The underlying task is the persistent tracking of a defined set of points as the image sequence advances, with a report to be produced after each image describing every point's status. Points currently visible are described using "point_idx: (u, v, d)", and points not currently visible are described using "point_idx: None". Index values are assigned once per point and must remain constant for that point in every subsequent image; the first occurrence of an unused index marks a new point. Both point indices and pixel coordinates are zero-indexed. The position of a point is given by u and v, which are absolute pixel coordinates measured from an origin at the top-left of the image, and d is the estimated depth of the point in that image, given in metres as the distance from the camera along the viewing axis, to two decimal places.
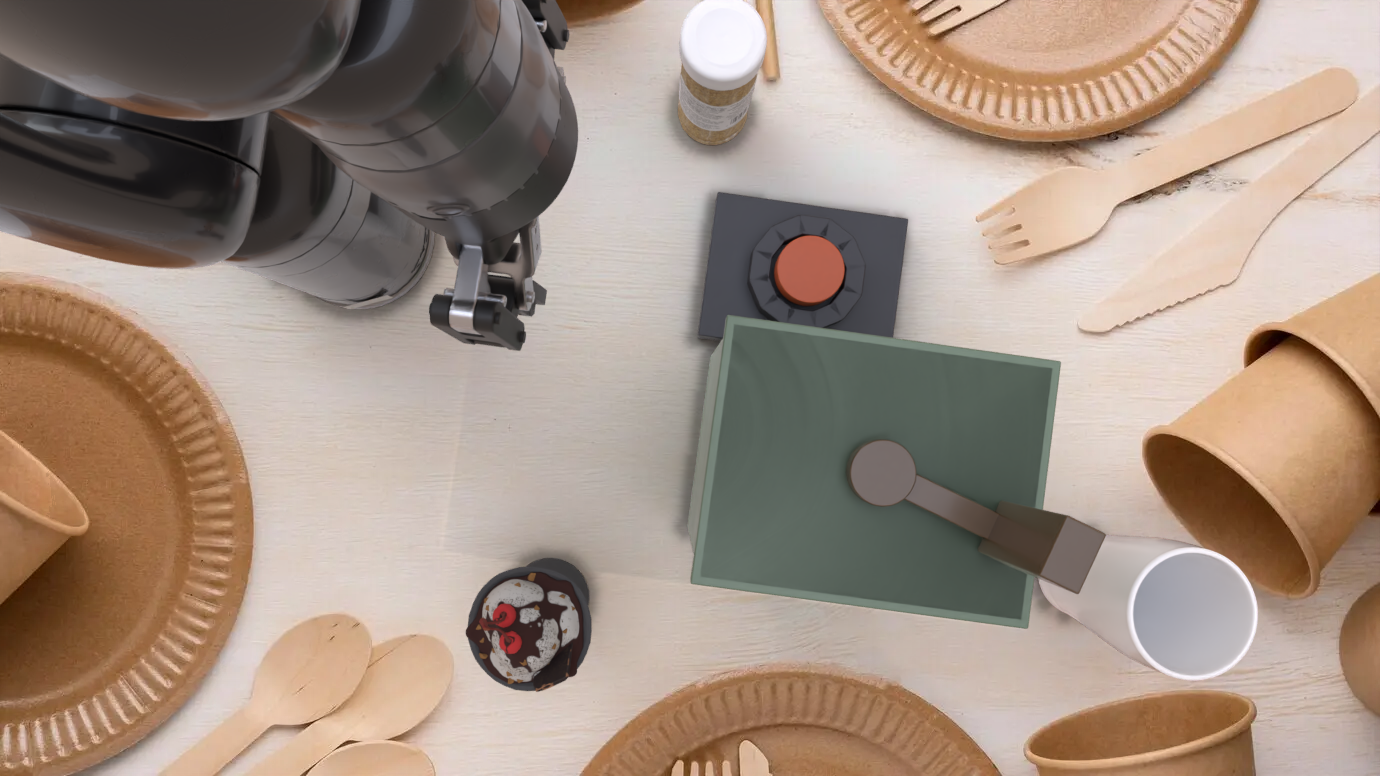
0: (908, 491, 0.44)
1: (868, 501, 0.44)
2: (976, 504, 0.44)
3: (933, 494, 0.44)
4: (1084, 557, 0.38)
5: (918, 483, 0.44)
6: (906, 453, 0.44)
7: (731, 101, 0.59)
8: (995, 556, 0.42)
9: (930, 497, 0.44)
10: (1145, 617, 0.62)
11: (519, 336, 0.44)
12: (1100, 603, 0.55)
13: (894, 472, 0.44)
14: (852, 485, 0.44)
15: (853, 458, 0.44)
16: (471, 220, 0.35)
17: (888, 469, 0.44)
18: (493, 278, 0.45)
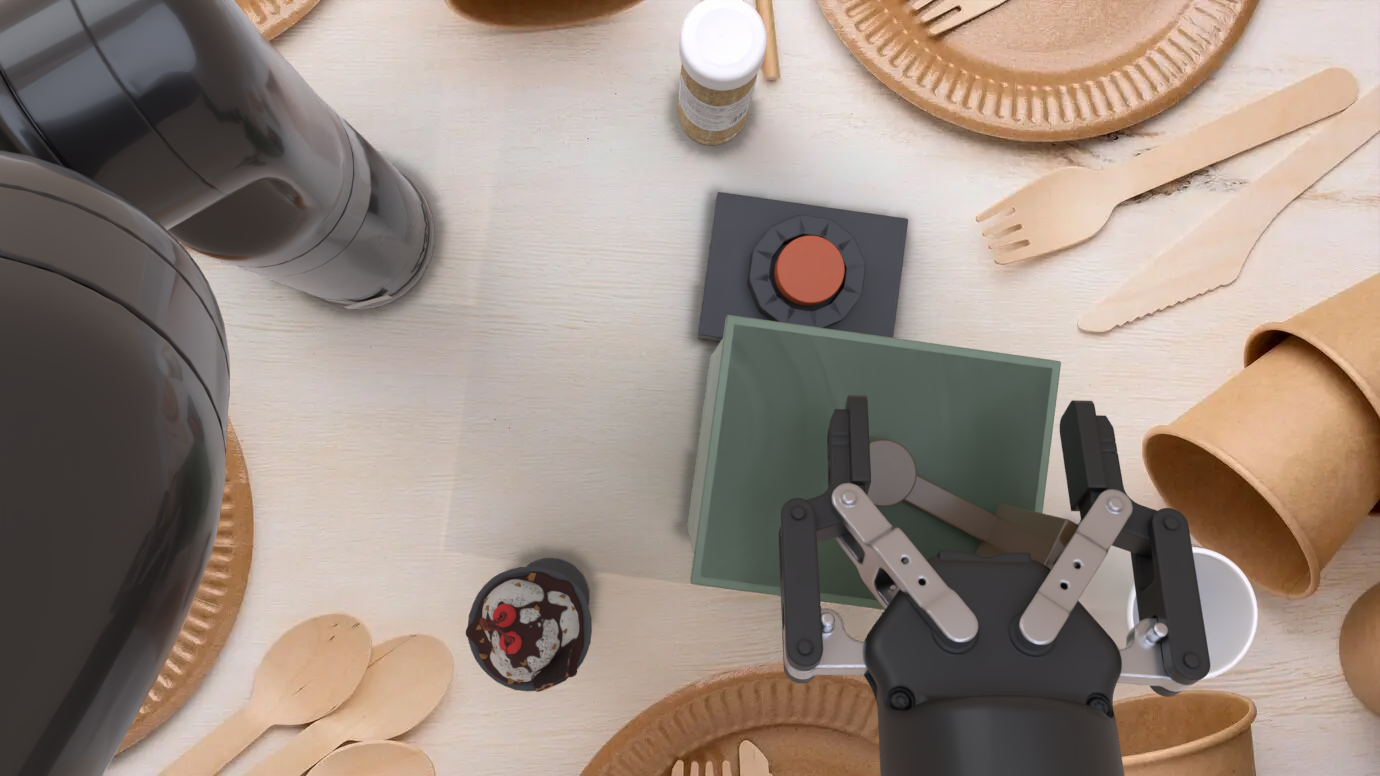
0: (908, 492, 0.44)
1: None
2: (975, 506, 0.44)
3: (932, 495, 0.44)
4: None
5: (918, 484, 0.44)
6: (906, 454, 0.44)
7: (731, 101, 0.59)
8: None
9: (929, 498, 0.44)
10: None
11: None
12: (1100, 603, 0.55)
13: (894, 472, 0.44)
14: None
15: None
16: None
17: (888, 469, 0.44)
18: None
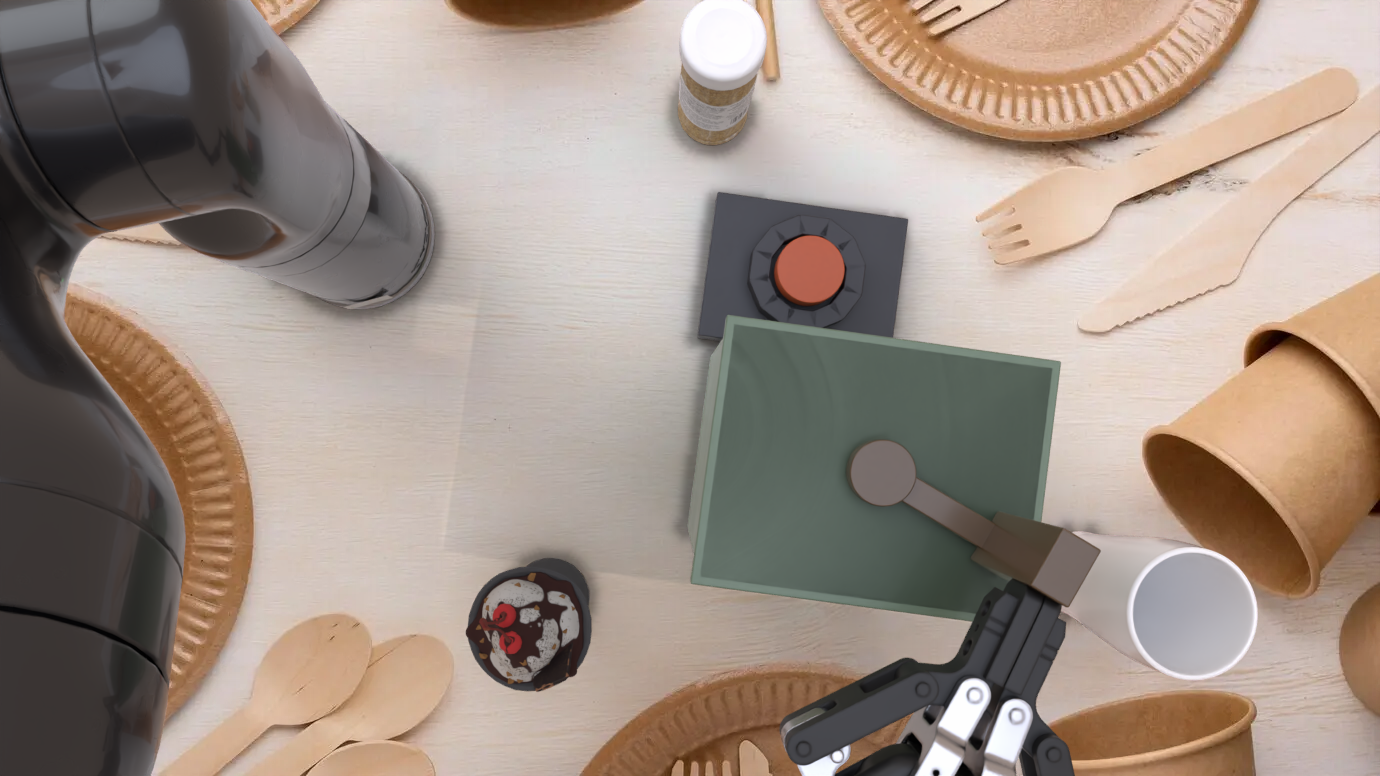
0: (906, 493, 0.44)
1: (866, 500, 0.44)
2: (973, 512, 0.44)
3: (931, 498, 0.44)
4: (1077, 571, 0.37)
5: (917, 486, 0.44)
6: (908, 455, 0.44)
7: (731, 101, 0.59)
8: (988, 565, 0.42)
9: (927, 501, 0.44)
10: (1145, 617, 0.62)
11: None
12: (1100, 603, 0.55)
13: (894, 473, 0.44)
14: (851, 482, 0.44)
15: (854, 455, 0.44)
16: None
17: (888, 469, 0.44)
18: None
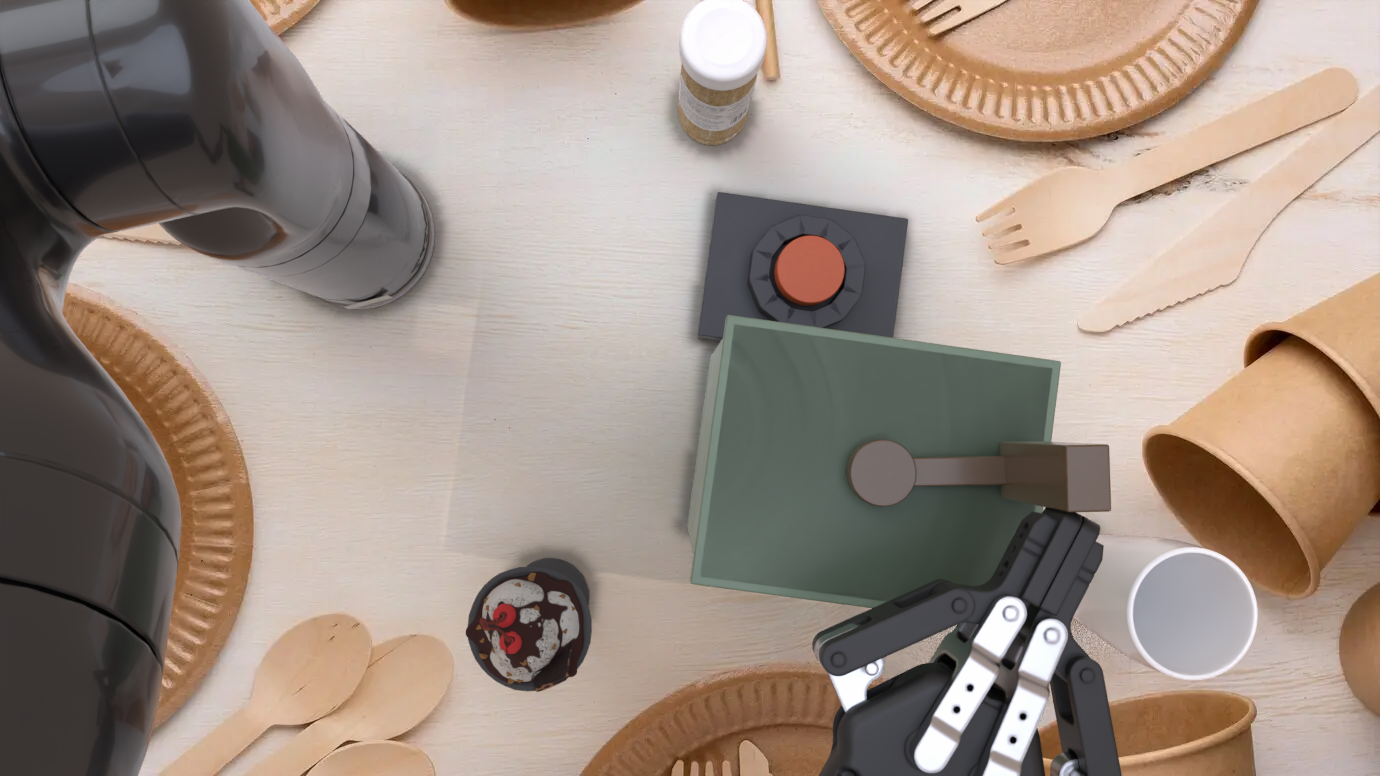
0: (913, 478, 0.44)
1: (882, 505, 0.44)
2: (980, 458, 0.44)
3: (937, 468, 0.44)
4: (1099, 475, 0.38)
5: (919, 465, 0.44)
6: (895, 444, 0.44)
7: (731, 101, 0.59)
8: (1020, 500, 0.42)
9: (935, 473, 0.44)
10: (1145, 617, 0.62)
11: None
12: (1100, 603, 0.55)
13: (893, 467, 0.44)
14: (861, 497, 0.44)
15: (850, 473, 0.44)
16: None
17: (886, 467, 0.44)
18: None
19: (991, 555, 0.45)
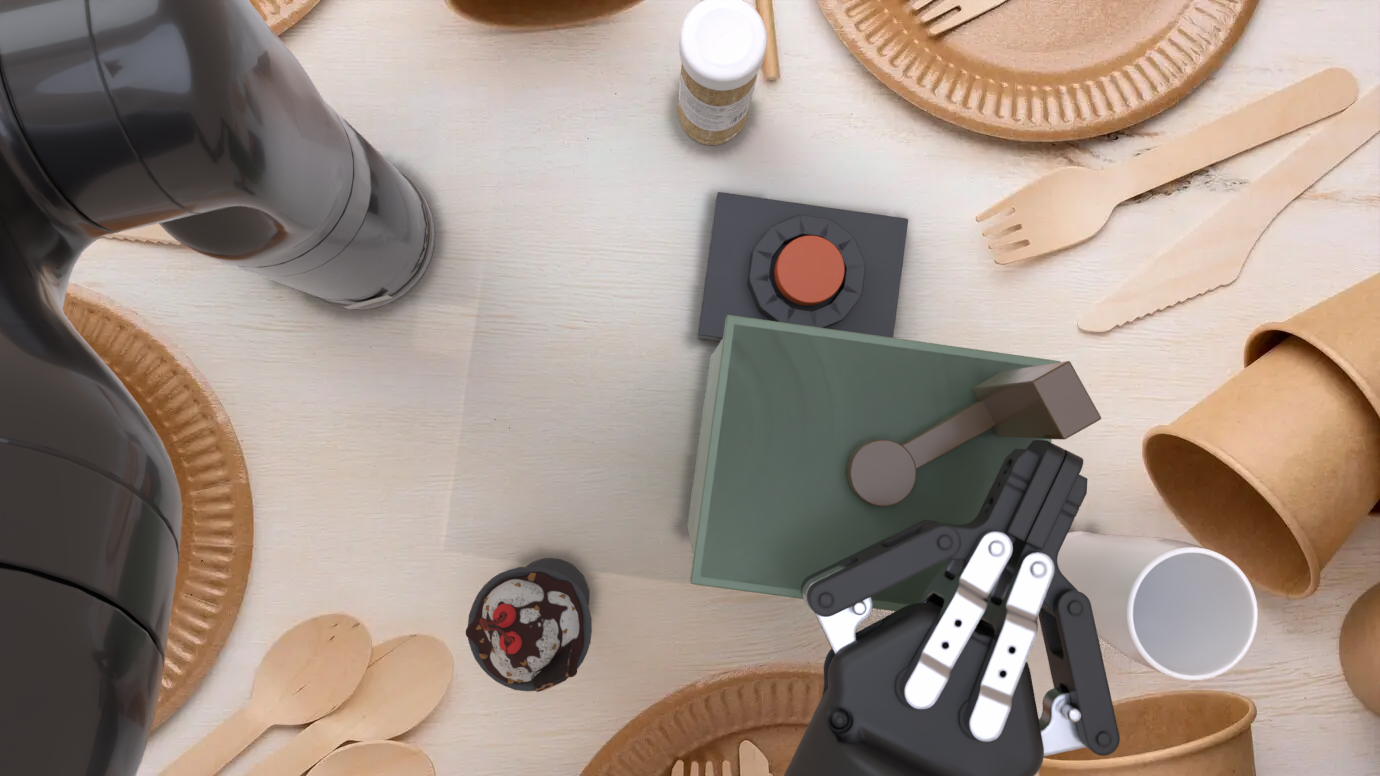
0: (912, 463, 0.44)
1: (897, 501, 0.44)
2: (961, 413, 0.44)
3: (929, 443, 0.44)
4: (1075, 392, 0.38)
5: (911, 448, 0.44)
6: (880, 442, 0.44)
7: (731, 101, 0.59)
8: (1016, 436, 0.43)
9: (929, 447, 0.44)
10: (1145, 617, 0.62)
11: None
12: (1100, 603, 0.55)
13: (889, 463, 0.44)
14: (875, 505, 0.44)
15: (854, 488, 0.44)
16: None
17: (883, 466, 0.44)
18: None
19: None
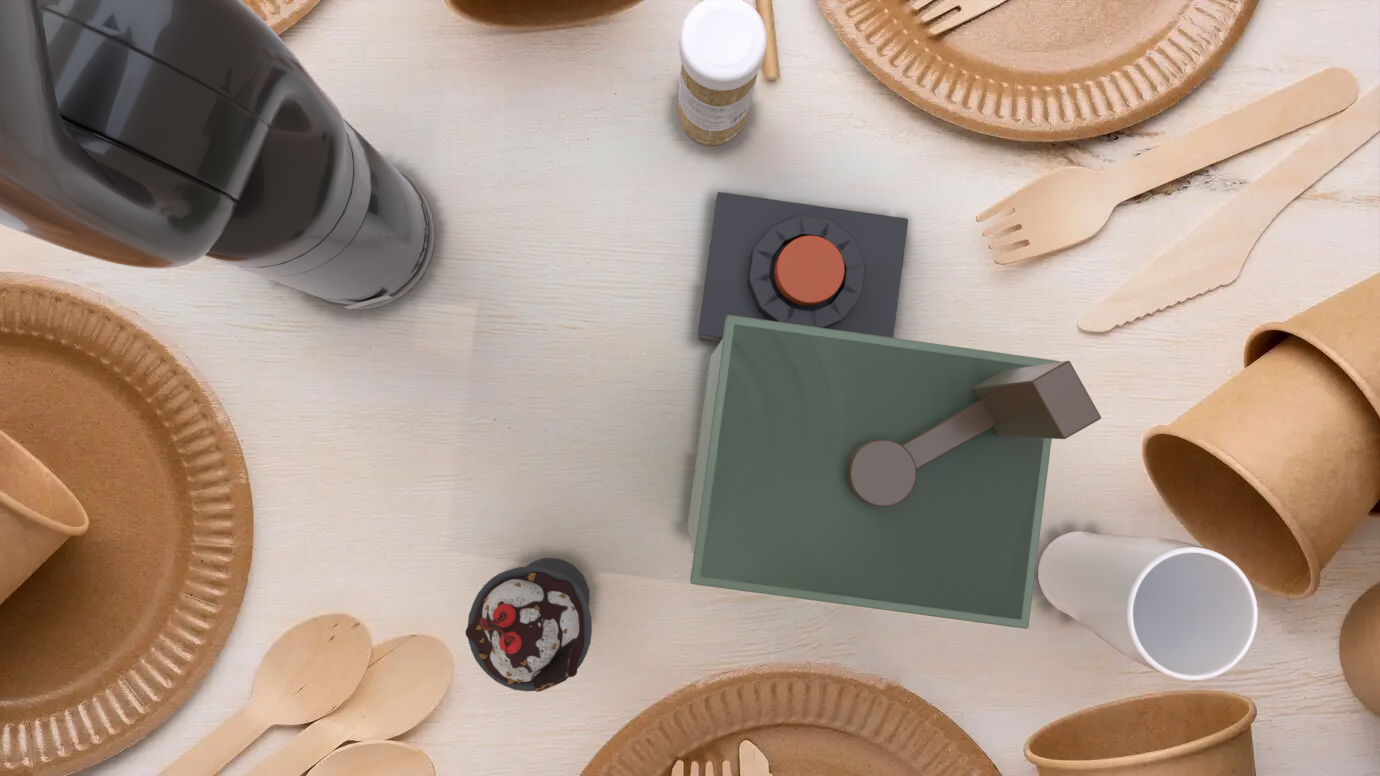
0: (912, 463, 0.44)
1: (897, 501, 0.44)
2: (961, 413, 0.44)
3: (929, 443, 0.44)
4: (1075, 391, 0.38)
5: (911, 448, 0.44)
6: (880, 442, 0.44)
7: (731, 101, 0.59)
8: (1016, 436, 0.43)
9: (929, 447, 0.44)
10: (1145, 617, 0.62)
11: None
12: (1100, 603, 0.55)
13: (889, 463, 0.44)
14: (875, 505, 0.44)
15: (854, 488, 0.44)
16: None
17: (883, 466, 0.44)
18: None
19: (991, 555, 0.45)
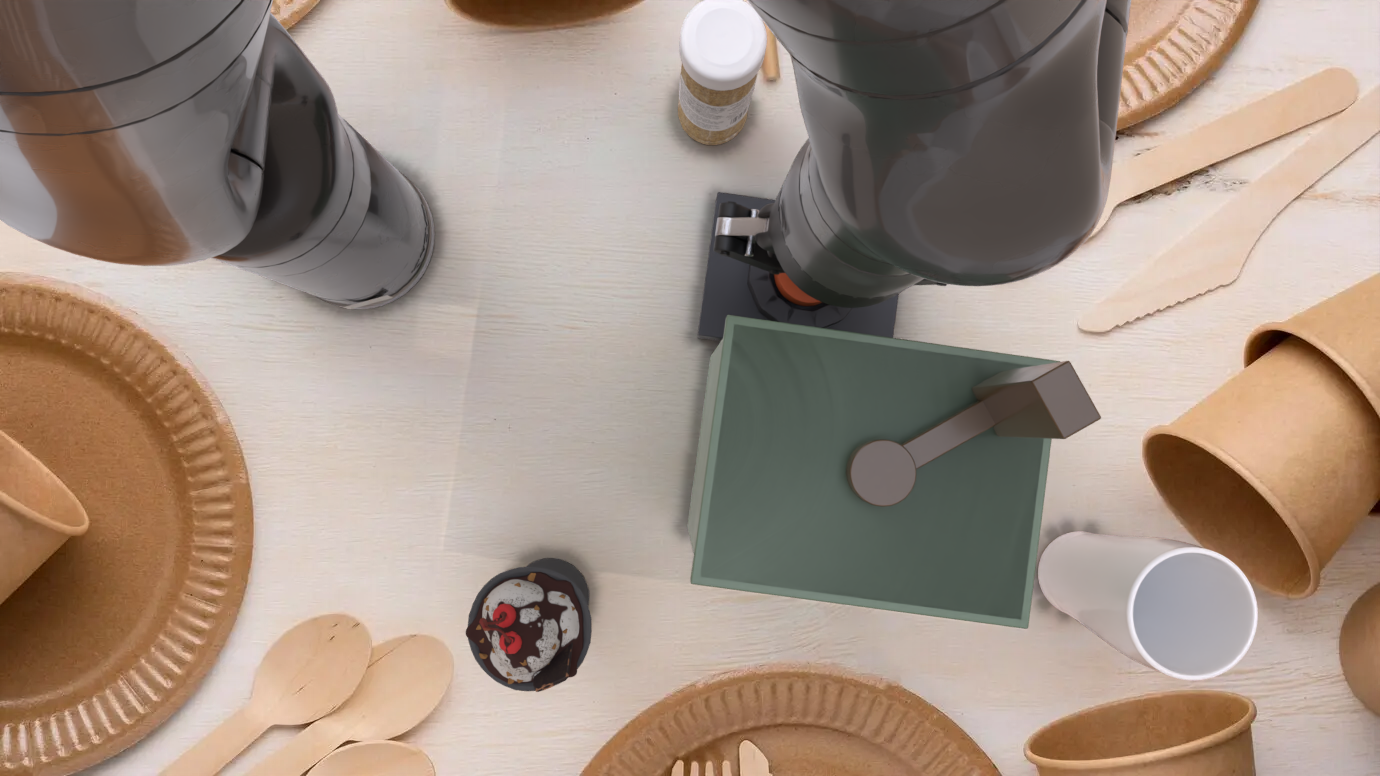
0: (912, 463, 0.44)
1: (897, 501, 0.44)
2: (961, 413, 0.44)
3: (929, 443, 0.44)
4: (1075, 391, 0.38)
5: (911, 448, 0.44)
6: (880, 442, 0.44)
7: (731, 101, 0.59)
8: (1016, 436, 0.43)
9: (929, 447, 0.44)
10: (1145, 617, 0.62)
11: (770, 269, 0.57)
12: (1100, 603, 0.55)
13: (889, 463, 0.44)
14: (875, 505, 0.44)
15: (854, 488, 0.44)
16: (778, 230, 0.46)
17: (883, 466, 0.44)
18: None
19: (991, 555, 0.45)
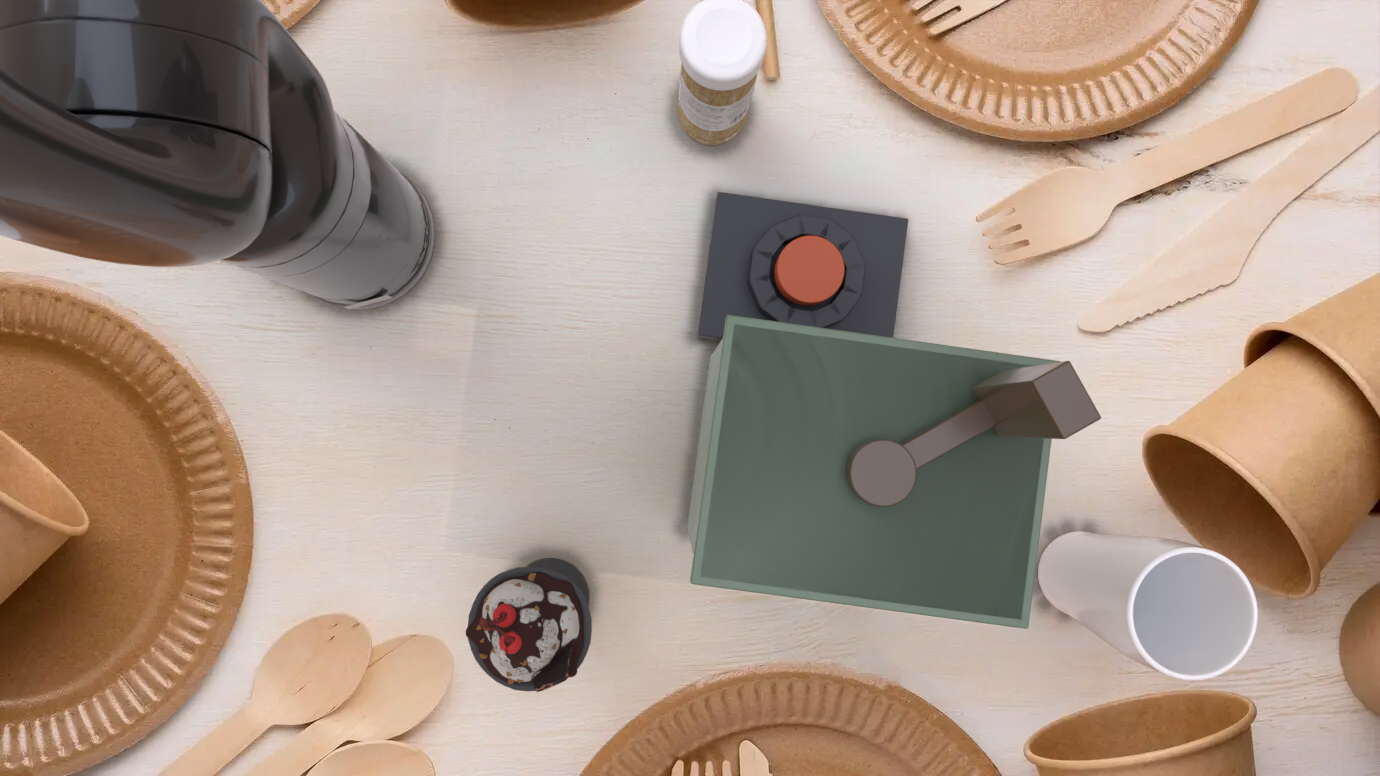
0: (912, 463, 0.44)
1: (897, 501, 0.44)
2: (961, 413, 0.44)
3: (929, 443, 0.44)
4: (1075, 391, 0.38)
5: (911, 448, 0.44)
6: (880, 442, 0.44)
7: (731, 101, 0.59)
8: (1016, 436, 0.43)
9: (929, 447, 0.44)
10: (1145, 617, 0.62)
11: None
12: (1100, 603, 0.55)
13: (889, 463, 0.44)
14: (875, 505, 0.44)
15: (854, 488, 0.44)
16: None
17: (883, 466, 0.44)
18: None
19: (991, 555, 0.45)
